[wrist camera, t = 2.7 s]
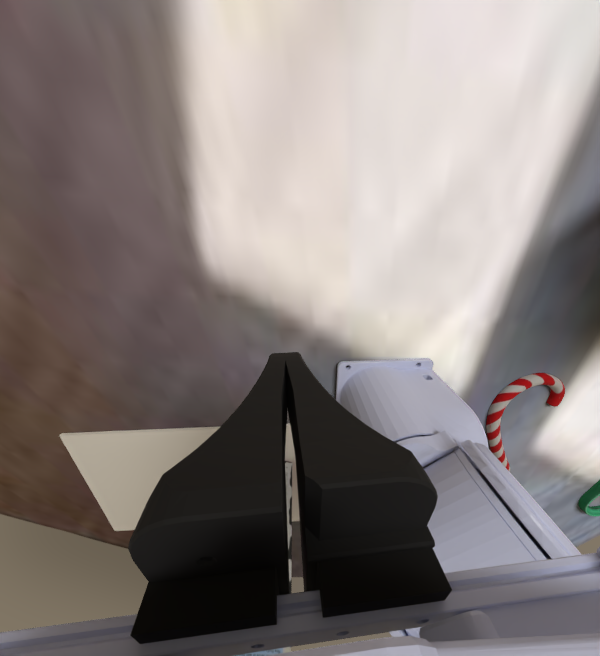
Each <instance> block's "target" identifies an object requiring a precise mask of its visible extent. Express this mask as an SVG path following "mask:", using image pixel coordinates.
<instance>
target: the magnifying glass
mask: <svg viewBox="0 0 600 656" xmlns="http://www.w3.org/2000/svg"><path fill="white" fill-rule="evenodd" d="M598 496H600V480H599V481H598V482H597V483H596V484H595V485H594V486H592V487H591V488H590V489H589V490H588V491H587V492H586V493H585V494H583V496H582V497H581V498H580V500H579V503H578V504H579V507H580V508H581V509H582V510H583V511H584V512H585V513H586V514H588V515H590V516H600V506H594V507H589V506H588V505H589V504H590V503H591V502H592V501H593V500H594V499H595V498H597V497H598Z"/></svg>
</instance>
